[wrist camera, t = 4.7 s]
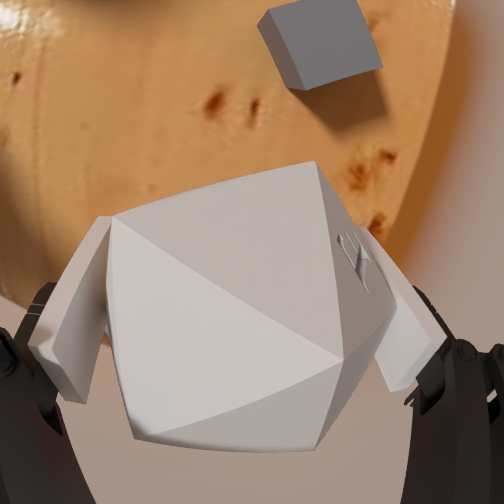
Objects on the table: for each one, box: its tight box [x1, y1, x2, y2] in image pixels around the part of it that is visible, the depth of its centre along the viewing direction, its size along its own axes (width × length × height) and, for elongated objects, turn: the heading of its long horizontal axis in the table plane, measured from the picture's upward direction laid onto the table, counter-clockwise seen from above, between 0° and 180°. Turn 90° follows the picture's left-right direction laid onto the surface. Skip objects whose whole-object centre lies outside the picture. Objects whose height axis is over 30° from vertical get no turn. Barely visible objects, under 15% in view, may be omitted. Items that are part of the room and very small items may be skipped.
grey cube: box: [257, 0, 383, 91], centre depth 14 cm, size 5×5×5 cm
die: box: [105, 161, 398, 453], centre depth 9 cm, size 8×9×10 cm
